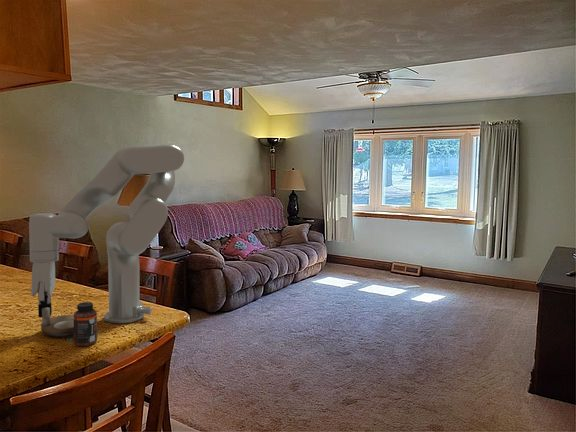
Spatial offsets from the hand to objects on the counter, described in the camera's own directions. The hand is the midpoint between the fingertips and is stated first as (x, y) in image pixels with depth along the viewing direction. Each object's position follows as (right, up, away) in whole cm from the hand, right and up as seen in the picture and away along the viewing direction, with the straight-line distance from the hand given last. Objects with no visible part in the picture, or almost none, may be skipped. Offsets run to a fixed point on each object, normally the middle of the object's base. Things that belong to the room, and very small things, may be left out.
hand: (45, 316), depth 131 cm
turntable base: (+6, -5, 0) cm, 8 cm away
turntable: (+6, -3, +1) cm, 7 cm away
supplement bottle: (+15, -6, -7) cm, 18 cm away
